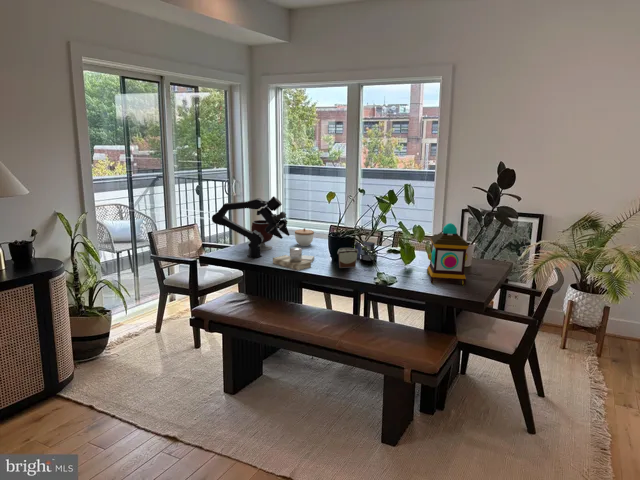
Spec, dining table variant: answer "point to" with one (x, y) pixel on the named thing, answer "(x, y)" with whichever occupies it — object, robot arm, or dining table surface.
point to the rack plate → (286, 262)
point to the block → (308, 258)
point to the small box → (358, 246)
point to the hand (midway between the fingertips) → (285, 236)
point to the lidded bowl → (304, 237)
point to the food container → (347, 257)
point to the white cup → (295, 255)
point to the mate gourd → (260, 227)
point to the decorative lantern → (447, 255)
